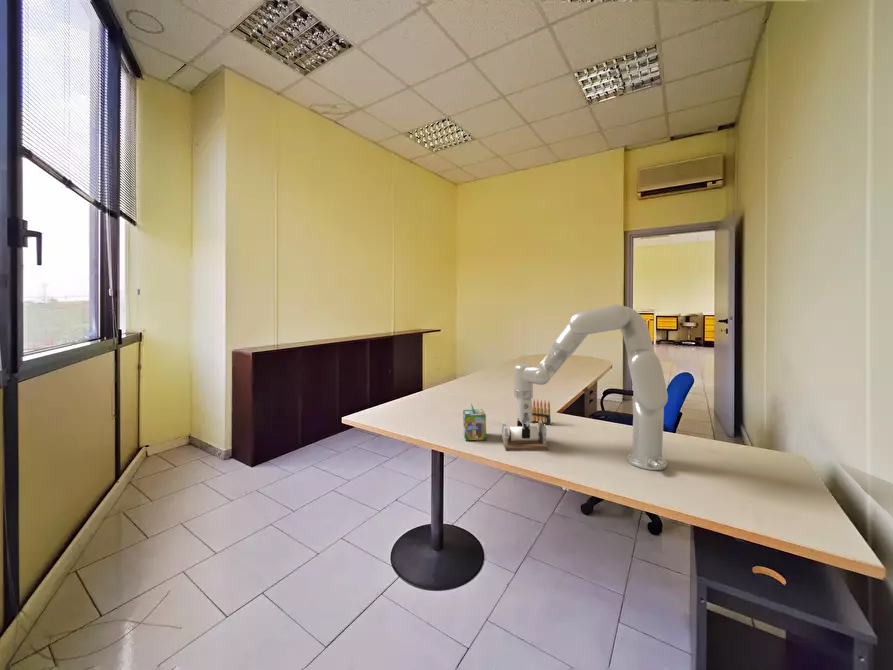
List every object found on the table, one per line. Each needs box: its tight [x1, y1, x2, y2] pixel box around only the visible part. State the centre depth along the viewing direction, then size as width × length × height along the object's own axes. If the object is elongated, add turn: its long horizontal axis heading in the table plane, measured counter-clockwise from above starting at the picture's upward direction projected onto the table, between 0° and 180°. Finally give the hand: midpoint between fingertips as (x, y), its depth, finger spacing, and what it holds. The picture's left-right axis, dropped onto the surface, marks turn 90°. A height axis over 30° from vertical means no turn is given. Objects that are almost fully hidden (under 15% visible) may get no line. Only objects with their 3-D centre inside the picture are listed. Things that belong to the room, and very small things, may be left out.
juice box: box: [462, 403, 487, 441], centre depth 155 cm, size 9×9×15 cm
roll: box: [508, 425, 538, 441], centre depth 147 cm, size 6×11×6 cm, turn 89°
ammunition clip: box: [531, 398, 552, 426], centre depth 172 cm, size 11×2×12 cm, turn 62°
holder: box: [500, 421, 549, 452], centre depth 147 cm, size 14×17×8 cm
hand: (523, 433), depth 147 cm, fingers open, 9 cm apart
